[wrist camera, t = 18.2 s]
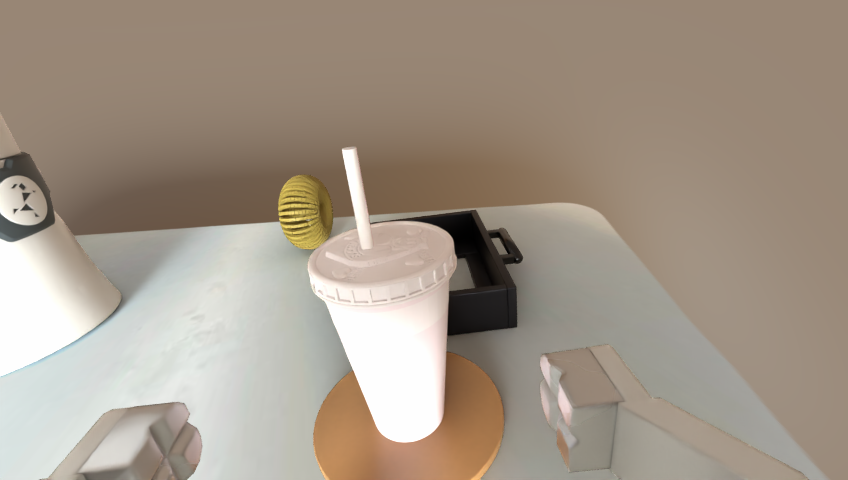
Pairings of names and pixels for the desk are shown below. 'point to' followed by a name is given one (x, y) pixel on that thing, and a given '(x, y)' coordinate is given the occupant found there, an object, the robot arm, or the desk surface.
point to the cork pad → (419, 460)
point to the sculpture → (305, 211)
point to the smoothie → (390, 311)
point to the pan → (479, 274)
